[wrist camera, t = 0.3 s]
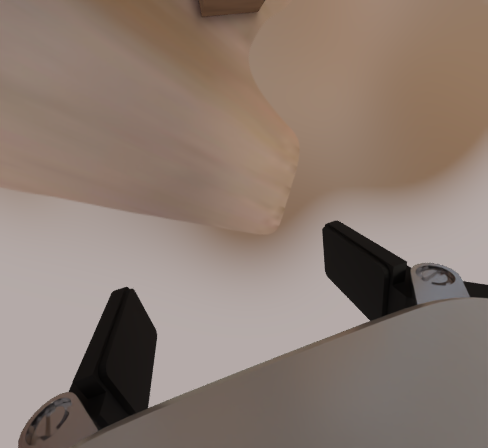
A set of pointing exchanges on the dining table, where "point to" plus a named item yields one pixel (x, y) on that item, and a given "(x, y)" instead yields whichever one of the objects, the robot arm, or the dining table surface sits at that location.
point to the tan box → (229, 6)
